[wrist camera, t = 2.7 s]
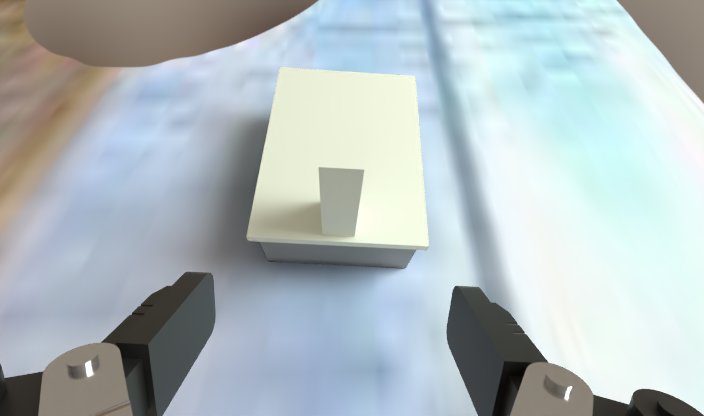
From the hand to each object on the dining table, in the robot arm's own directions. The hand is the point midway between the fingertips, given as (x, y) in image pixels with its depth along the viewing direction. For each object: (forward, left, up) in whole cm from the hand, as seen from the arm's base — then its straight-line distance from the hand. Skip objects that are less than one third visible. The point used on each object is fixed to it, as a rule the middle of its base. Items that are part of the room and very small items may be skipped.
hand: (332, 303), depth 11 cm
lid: (-15, +9, -15) cm, 23 cm away
